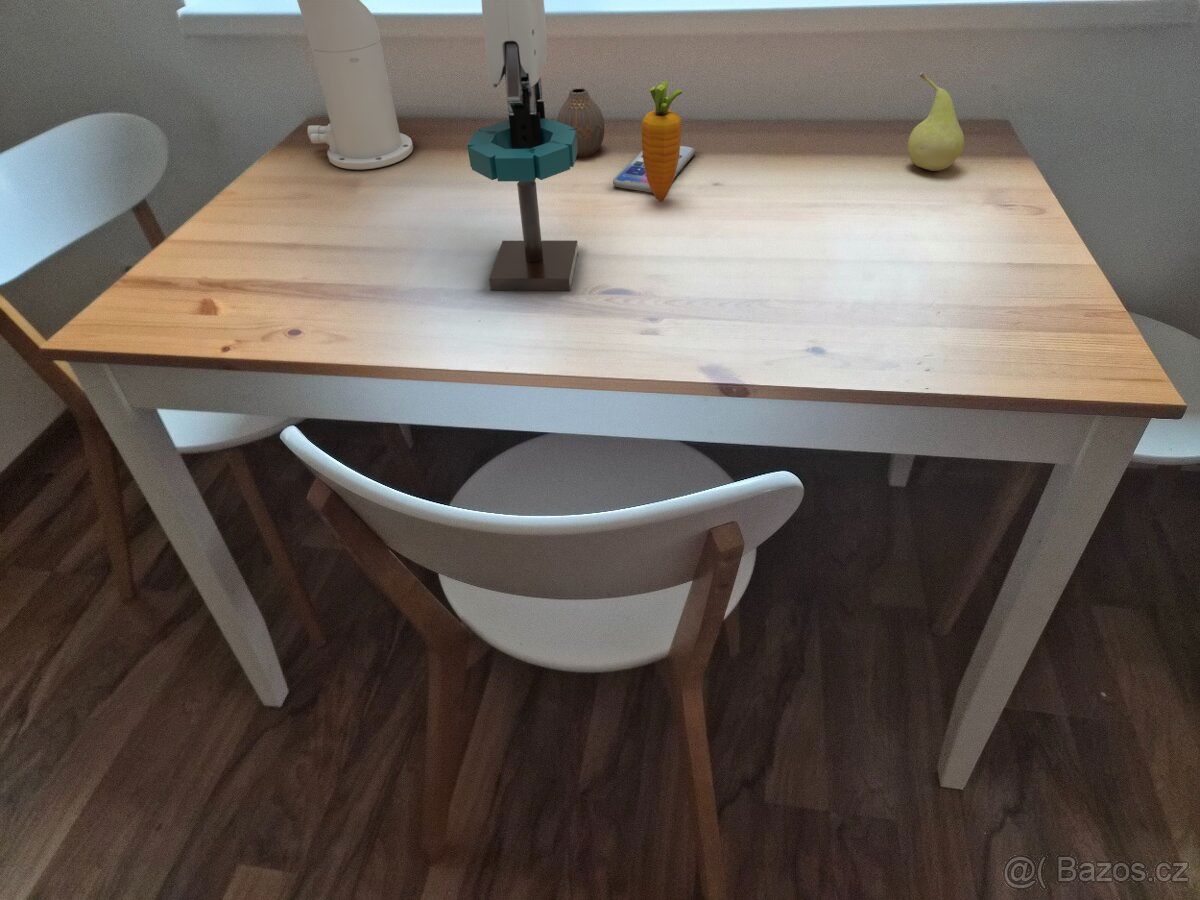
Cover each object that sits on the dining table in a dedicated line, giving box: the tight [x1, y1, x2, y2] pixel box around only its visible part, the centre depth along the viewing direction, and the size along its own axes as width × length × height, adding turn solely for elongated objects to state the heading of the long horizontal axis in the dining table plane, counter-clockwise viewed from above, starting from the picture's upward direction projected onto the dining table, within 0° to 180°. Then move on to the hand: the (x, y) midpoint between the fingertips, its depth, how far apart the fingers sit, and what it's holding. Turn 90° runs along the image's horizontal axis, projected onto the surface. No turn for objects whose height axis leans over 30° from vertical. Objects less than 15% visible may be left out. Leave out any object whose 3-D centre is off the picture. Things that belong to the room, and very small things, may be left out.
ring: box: [467, 118, 578, 182], centre depth 84 cm, size 11×11×2 cm
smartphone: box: [612, 144, 696, 194], centre depth 113 cm, size 7×1×15 cm
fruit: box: [906, 71, 965, 172], centre depth 106 cm, size 7×8×12 cm
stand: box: [488, 180, 579, 292], centre depth 90 cm, size 9×9×10 cm
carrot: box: [640, 80, 683, 203], centre depth 100 cm, size 5×5×15 cm
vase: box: [556, 87, 605, 158], centre depth 116 cm, size 7×7×9 cm
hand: (530, 143), depth 88 cm, fingers closed on ring, 2 cm apart
